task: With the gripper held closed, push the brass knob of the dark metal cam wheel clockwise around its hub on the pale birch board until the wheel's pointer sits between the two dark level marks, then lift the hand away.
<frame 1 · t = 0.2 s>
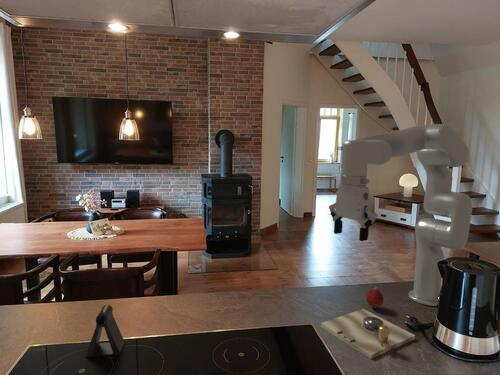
hand: (350, 236, 108), 31 cm above the table, tool pointing down, fingers open, 9 cm apart
dark triangular stand: (105, 350, 99), on the table
onion: (374, 308, 127), on the table
stand board: (366, 332, 110), on the table
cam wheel: (378, 326, 106), point 4 cm above the table, hinge at 55.0°
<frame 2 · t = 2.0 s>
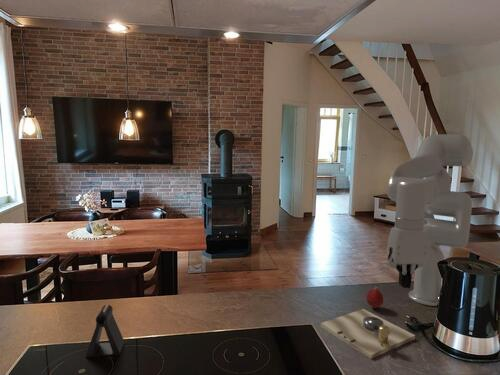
hand: (404, 286, 101), 18 cm above the table, tool pointing down, fingers closed
nothing on the table moved.
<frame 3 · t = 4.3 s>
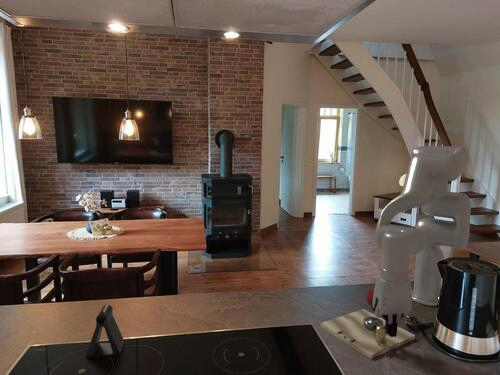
hand: (390, 334, 102), 4 cm above the table, tool pointing down, fingers closed
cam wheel: (377, 326, 106), point 4 cm above the table, hinge at 50.7°, touching gripper
everything else where it was.
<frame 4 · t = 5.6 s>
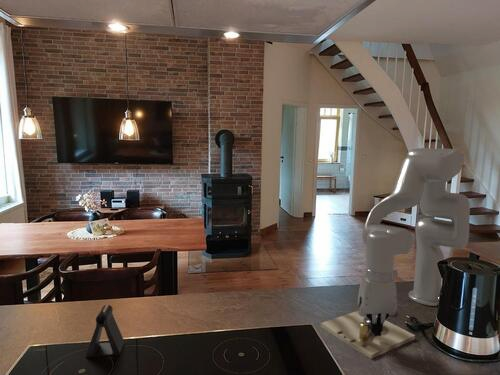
hand: (376, 333, 103), 4 cm above the table, tool pointing down, fingers closed
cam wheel: (368, 324, 107), point 4 cm above the table, hinge at 24.1°, touching gripper
everything else where it was.
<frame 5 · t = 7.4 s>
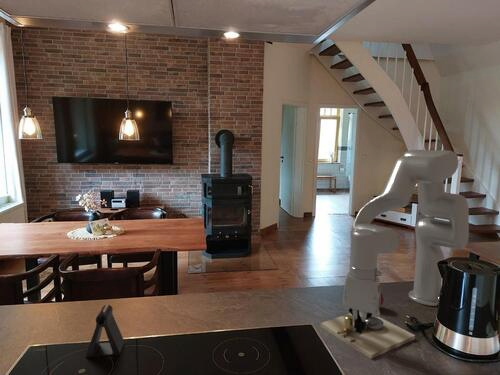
hand: (359, 331, 105), 4 cm above the table, tool pointing down, fingers closed
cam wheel: (361, 321, 109), point 4 cm above the table, hinge at -7.2°
everything else where it was.
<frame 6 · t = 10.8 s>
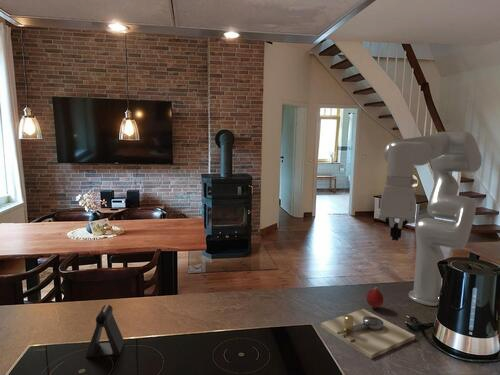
hand: (395, 239, 111), 29 cm above the table, tool pointing down, fingers closed
nothing on the table moved.
at the end: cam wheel at -7° (first picture: +55°); onion moved 0.2 cm from its start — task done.
